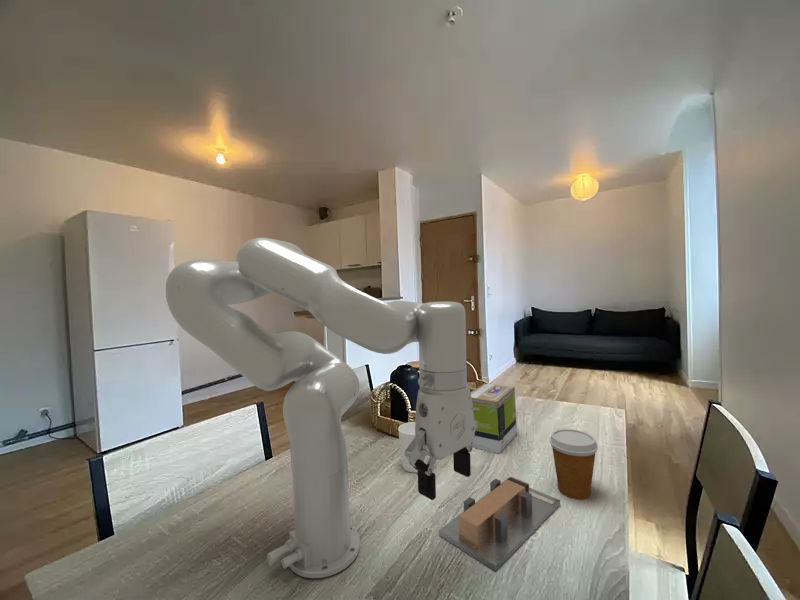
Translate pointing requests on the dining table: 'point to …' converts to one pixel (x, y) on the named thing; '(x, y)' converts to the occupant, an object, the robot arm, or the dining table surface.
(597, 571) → the dining table surface
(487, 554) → the plate
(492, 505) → the wooden beam
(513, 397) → the tea box
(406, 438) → the white cup
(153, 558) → the dining table surface
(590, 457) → the disposable coffee cup
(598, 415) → the dining table surface
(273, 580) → the dining table surface
